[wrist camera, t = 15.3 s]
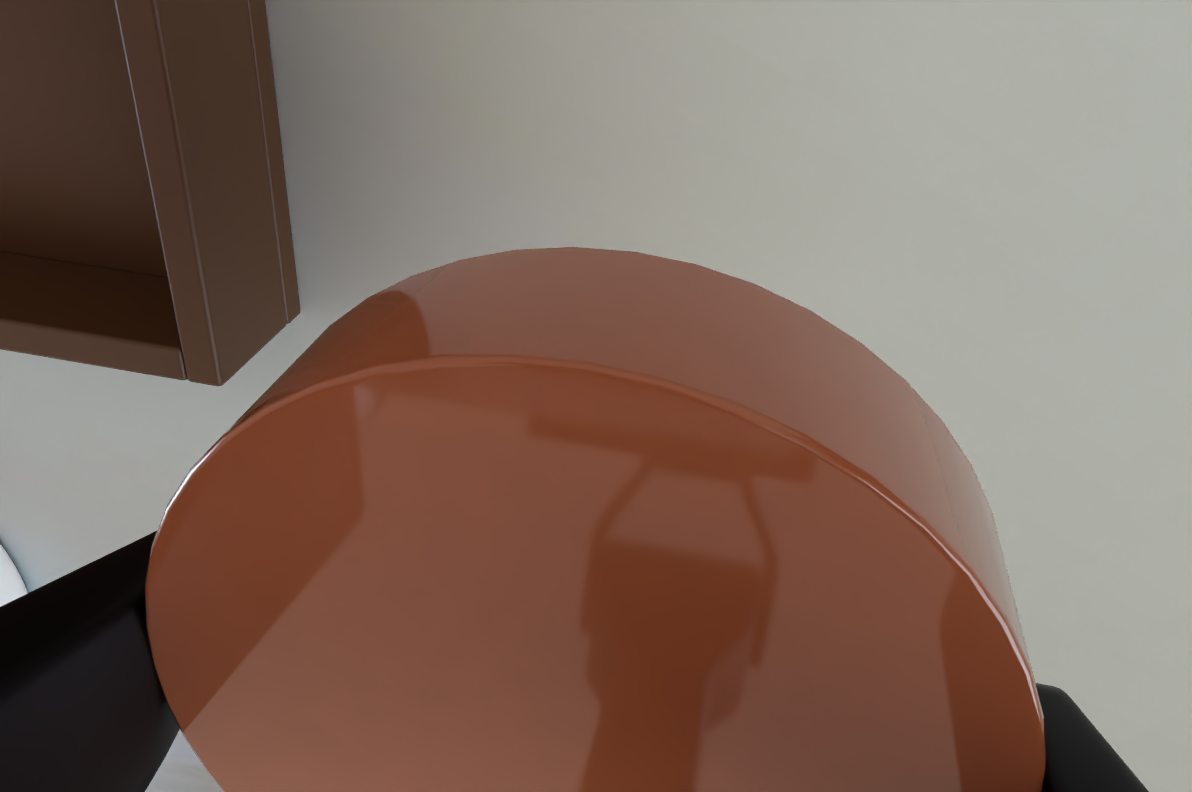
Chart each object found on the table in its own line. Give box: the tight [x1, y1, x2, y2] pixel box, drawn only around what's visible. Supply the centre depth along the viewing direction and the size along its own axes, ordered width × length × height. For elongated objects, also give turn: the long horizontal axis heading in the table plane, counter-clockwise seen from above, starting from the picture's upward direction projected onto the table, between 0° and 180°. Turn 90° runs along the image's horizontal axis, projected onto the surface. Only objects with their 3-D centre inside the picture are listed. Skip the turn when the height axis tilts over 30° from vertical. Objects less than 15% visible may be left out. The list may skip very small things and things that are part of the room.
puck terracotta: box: [145, 247, 1046, 792], centre depth 8 cm, size 7×7×2 cm
